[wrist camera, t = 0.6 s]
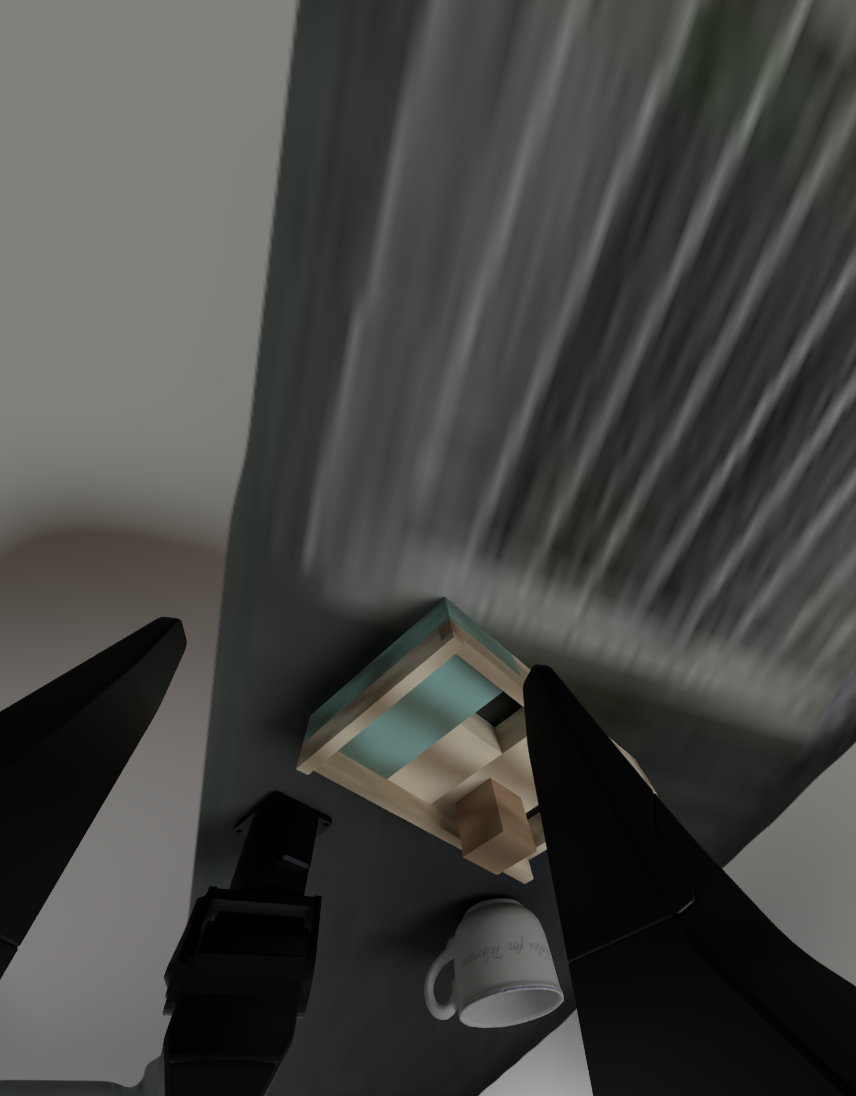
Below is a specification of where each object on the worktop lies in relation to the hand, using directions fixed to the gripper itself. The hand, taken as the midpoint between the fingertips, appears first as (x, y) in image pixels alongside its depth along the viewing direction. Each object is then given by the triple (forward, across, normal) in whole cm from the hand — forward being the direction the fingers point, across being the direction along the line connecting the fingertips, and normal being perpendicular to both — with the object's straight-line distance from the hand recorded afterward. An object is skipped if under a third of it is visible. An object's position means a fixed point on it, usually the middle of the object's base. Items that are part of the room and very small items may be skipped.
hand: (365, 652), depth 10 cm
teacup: (+5, -18, +50) cm, 54 cm away
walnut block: (+7, -12, +26) cm, 30 cm away
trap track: (+11, -11, +23) cm, 28 cm away
